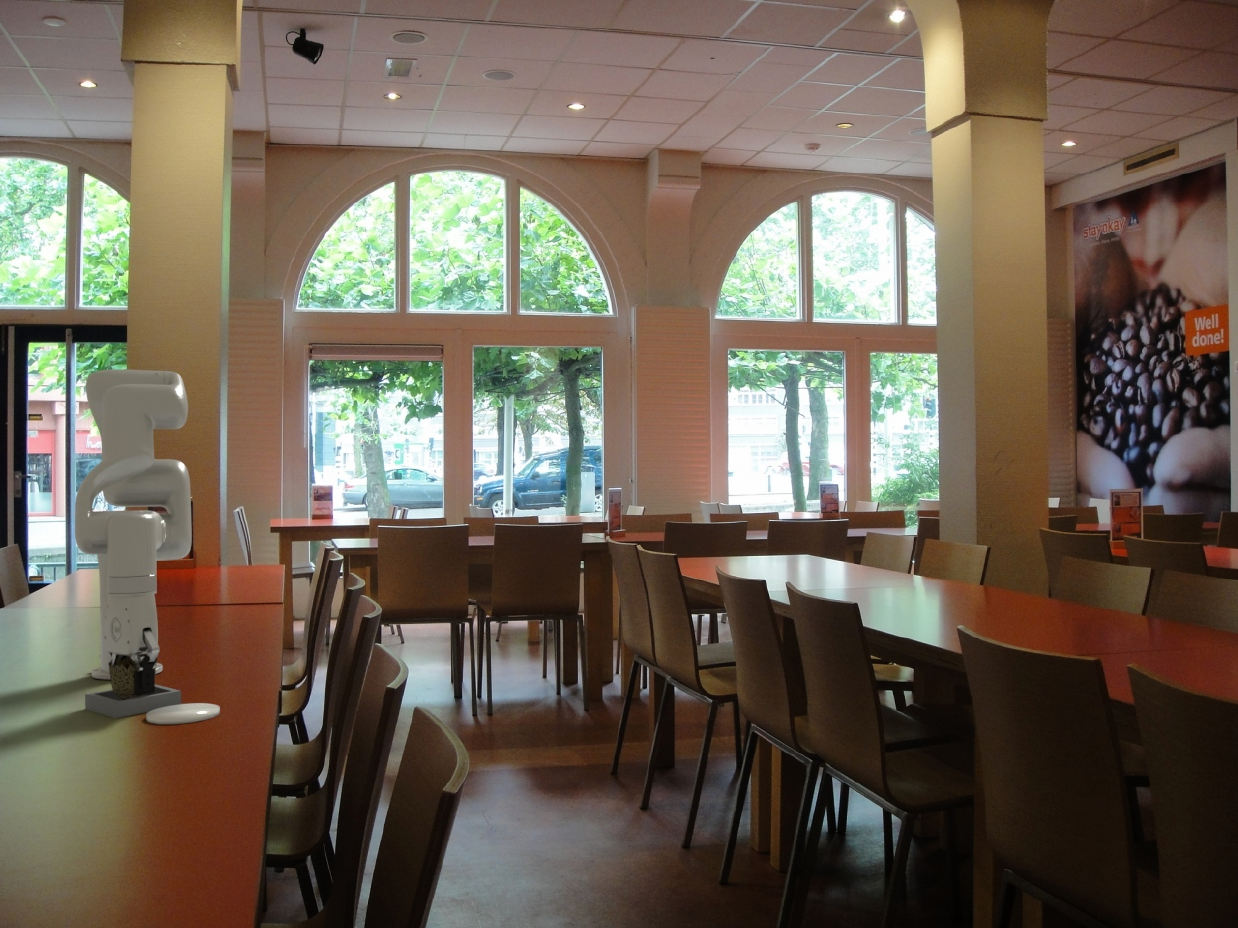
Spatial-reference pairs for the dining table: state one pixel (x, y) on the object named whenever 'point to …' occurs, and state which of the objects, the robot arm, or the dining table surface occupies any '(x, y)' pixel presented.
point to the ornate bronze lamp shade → (124, 678)
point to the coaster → (183, 713)
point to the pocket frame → (131, 702)
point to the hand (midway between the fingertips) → (133, 690)
